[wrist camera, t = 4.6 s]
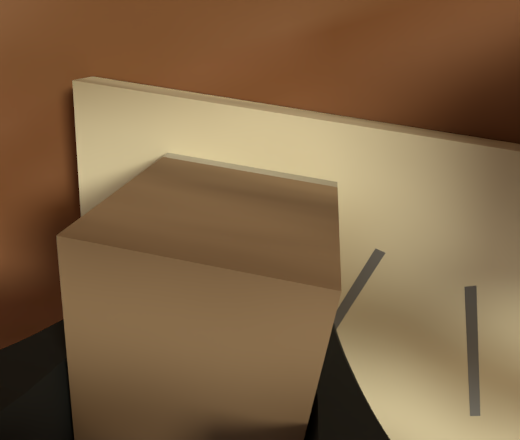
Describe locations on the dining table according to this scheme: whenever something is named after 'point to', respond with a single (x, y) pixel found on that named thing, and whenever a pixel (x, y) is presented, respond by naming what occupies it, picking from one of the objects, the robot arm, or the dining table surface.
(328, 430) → the robot arm
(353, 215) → the birch board
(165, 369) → the block
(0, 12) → the dining table surface
